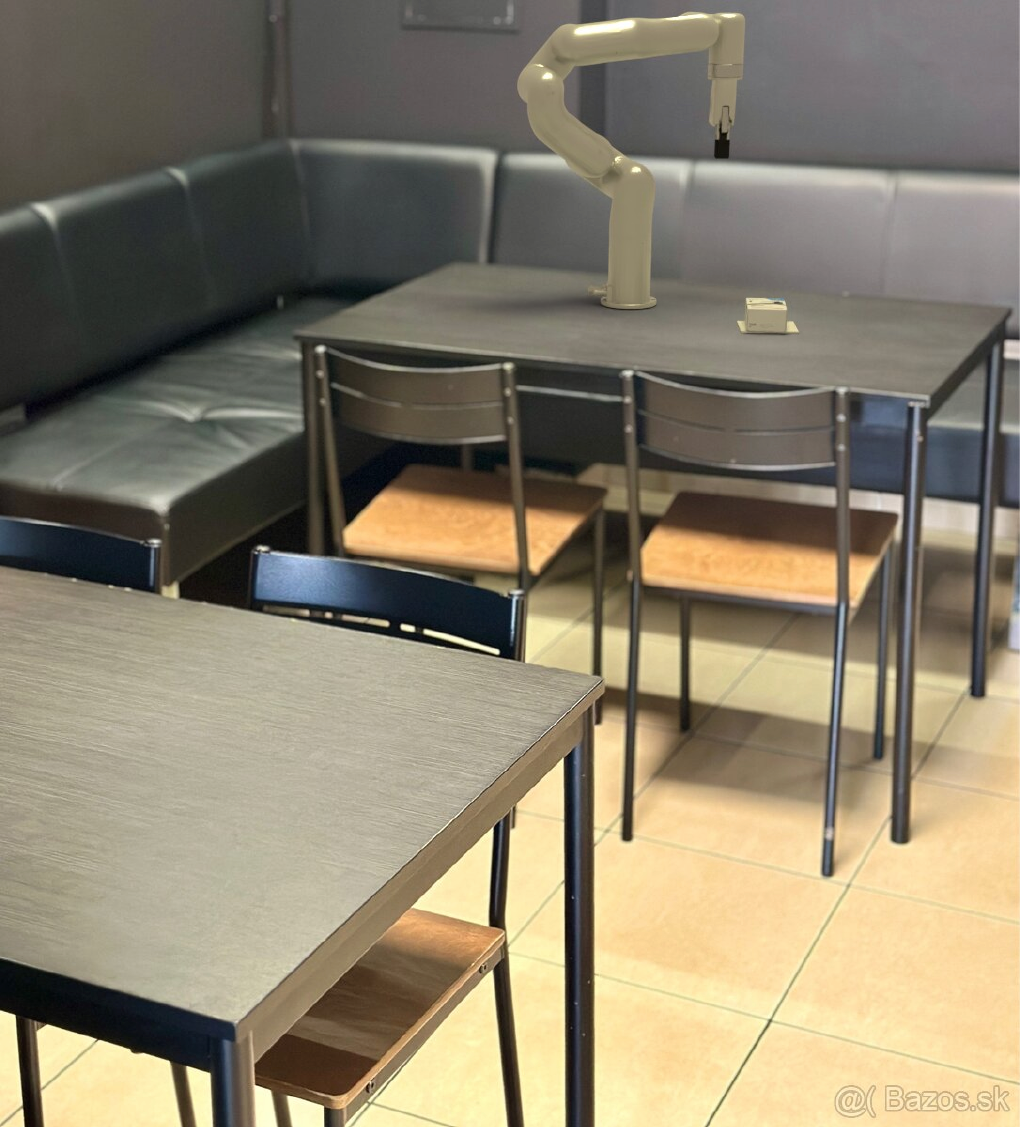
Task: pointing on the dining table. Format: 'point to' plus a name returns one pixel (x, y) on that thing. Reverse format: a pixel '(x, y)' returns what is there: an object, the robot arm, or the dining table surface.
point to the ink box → (766, 314)
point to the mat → (790, 330)
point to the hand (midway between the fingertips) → (721, 158)
